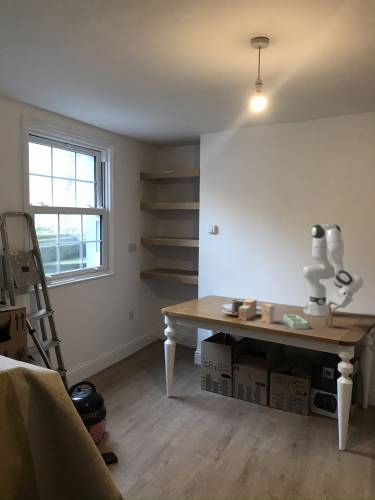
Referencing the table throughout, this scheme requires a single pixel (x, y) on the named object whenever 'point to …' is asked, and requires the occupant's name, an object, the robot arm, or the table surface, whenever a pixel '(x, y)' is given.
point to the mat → (289, 325)
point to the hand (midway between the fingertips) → (330, 308)
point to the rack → (295, 321)
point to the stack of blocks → (248, 309)
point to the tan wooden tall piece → (329, 318)
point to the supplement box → (267, 313)
